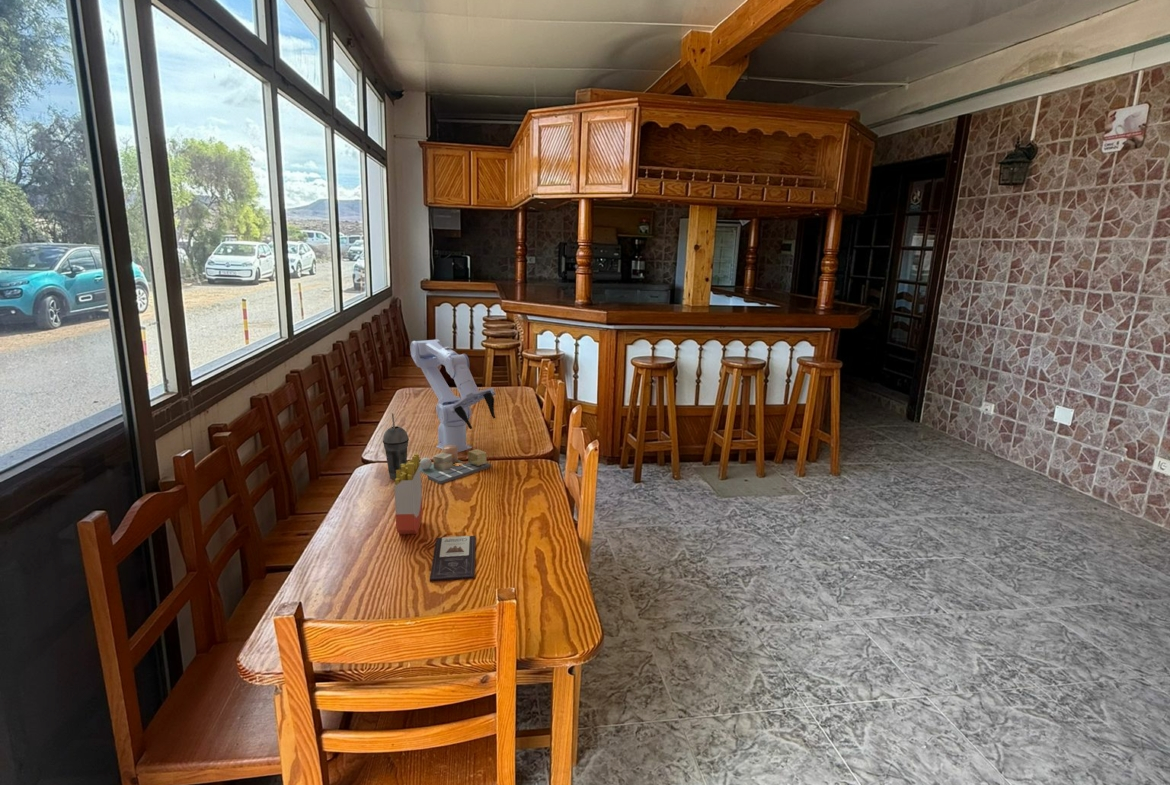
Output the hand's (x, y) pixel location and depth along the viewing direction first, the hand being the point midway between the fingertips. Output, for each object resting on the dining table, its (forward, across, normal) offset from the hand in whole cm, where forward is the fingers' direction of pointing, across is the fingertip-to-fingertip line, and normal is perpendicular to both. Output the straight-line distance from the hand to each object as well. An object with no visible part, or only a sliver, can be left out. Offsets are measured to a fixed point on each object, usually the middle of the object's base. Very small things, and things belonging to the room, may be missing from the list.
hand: (482, 422), depth 183 cm
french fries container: (+30, -24, -24) cm, 46 cm away
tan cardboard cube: (+8, -7, +7) cm, 13 cm away
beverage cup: (+6, -29, -1) cm, 29 cm away
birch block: (+6, -17, +6) cm, 19 cm away
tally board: (+11, -12, +4) cm, 17 cm away
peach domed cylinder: (+3, -15, +10) cm, 18 cm away
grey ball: (+4, -21, +4) cm, 22 cm away
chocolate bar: (+44, -15, -33) cm, 57 cm away
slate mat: (+5, -17, +7) cm, 19 cm away
